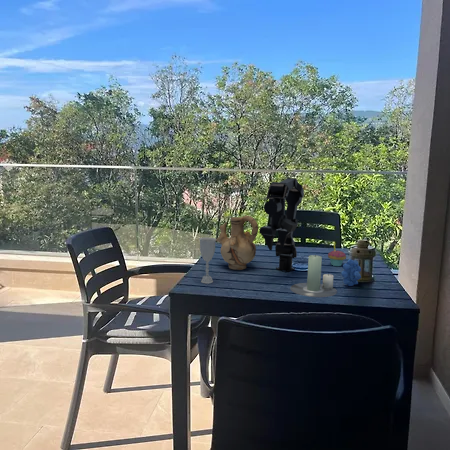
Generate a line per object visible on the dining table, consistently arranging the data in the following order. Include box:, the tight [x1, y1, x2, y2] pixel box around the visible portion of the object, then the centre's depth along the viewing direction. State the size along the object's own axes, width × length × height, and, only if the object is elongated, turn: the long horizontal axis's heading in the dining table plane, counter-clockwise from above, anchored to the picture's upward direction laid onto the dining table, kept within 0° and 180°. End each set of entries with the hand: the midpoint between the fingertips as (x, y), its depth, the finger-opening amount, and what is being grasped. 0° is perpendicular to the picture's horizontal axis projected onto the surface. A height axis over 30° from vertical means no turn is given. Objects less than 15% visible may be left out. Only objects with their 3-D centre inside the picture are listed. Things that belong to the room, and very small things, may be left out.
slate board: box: [289, 282, 338, 298], centre depth 178 cm, size 18×18×1 cm
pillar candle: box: [306, 254, 323, 291], centre depth 177 cm, size 5×5×14 cm
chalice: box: [198, 236, 217, 284], centre depth 188 cm, size 7×7×18 cm
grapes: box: [340, 258, 362, 287], centre depth 184 cm, size 12×7×12 cm, turn 128°
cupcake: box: [327, 240, 347, 267], centre depth 220 cm, size 9×8×12 cm
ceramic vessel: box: [215, 215, 259, 271], centre depth 210 cm, size 18×19×25 cm
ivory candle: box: [322, 273, 334, 289], centre depth 180 cm, size 4×4×6 cm
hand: (276, 248), depth 195 cm, fingers open, 9 cm apart
